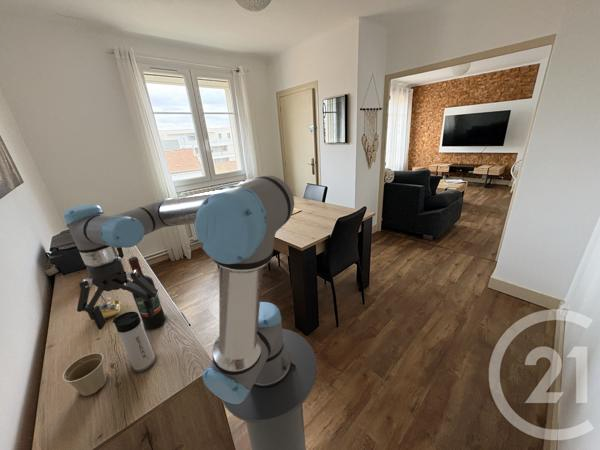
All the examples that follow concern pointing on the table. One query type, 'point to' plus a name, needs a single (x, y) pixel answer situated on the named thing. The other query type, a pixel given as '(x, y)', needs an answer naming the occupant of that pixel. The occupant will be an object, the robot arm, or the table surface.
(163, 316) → the wine bottle
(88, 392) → the flower pot
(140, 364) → the travel mug
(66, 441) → the table surface
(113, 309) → the cake
